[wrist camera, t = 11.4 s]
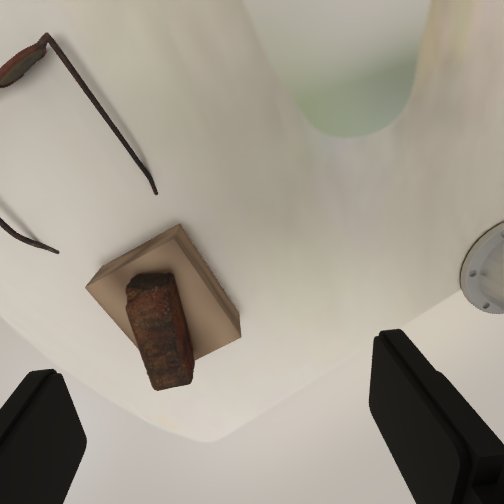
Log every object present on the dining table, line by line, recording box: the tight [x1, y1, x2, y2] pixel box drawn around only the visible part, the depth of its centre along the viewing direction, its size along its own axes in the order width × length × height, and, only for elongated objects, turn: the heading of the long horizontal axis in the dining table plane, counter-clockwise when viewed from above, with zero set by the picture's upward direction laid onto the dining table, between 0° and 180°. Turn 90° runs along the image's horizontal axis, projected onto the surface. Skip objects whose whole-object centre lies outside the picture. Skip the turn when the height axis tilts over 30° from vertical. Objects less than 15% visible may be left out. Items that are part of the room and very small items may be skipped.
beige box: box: [85, 224, 241, 361], centre depth 35 cm, size 10×13×5 cm
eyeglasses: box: [0, 33, 158, 254], centre depth 29 cm, size 15×15×5 cm
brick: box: [125, 272, 195, 391], centre depth 31 cm, size 11×4×5 cm, turn 8°
